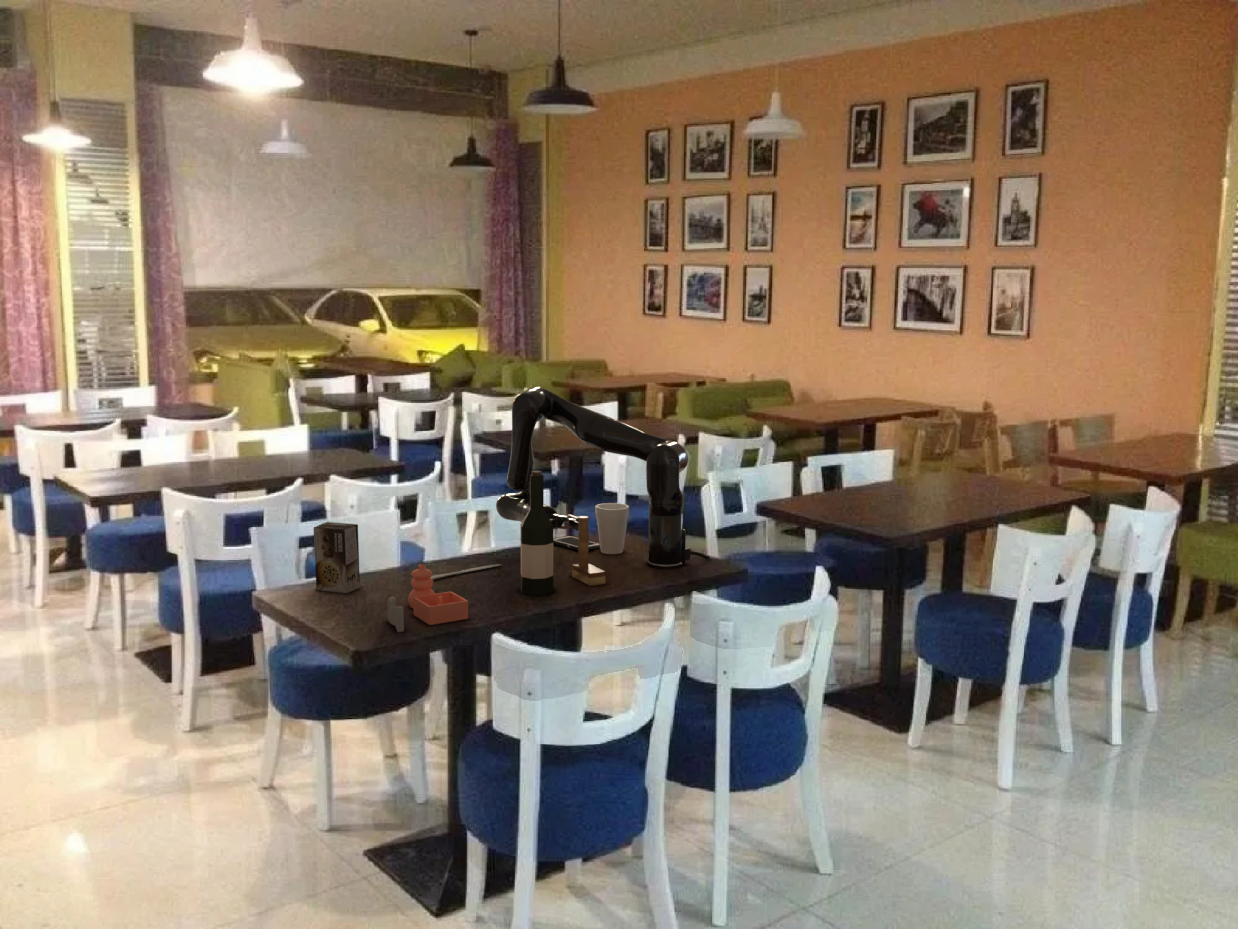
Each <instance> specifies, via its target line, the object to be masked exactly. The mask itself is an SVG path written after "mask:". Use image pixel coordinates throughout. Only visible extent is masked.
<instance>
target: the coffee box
mask: <svg viewBox="0 0 1238 929" xmlns="http://www.w3.org/2000/svg"><path fill="white" fill-rule="evenodd" d="M312 530H313V544H314V545H313V546H314V565H315V590H316V591H322V592H331V593H340V594H341V593H342V594H349V593H351V592H353V591H355V590H357V589H360V588H361V581H360V580H361V579H360V578H361V576H360V574H361V573H360V546H359V545H360V544H359V524H358V523H344V522H334V521H333V522H332V521H326V522H323V523H321V524H318V525H316V526H314V527H313V529H312Z"/></svg>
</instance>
